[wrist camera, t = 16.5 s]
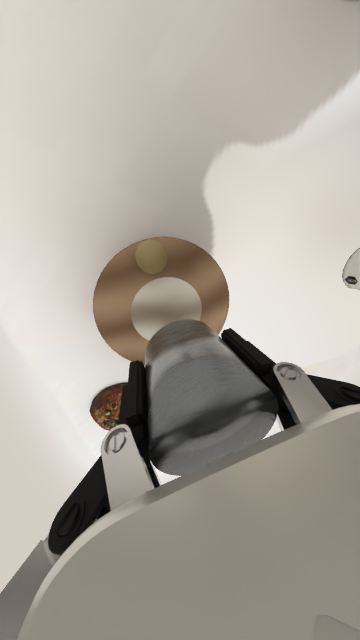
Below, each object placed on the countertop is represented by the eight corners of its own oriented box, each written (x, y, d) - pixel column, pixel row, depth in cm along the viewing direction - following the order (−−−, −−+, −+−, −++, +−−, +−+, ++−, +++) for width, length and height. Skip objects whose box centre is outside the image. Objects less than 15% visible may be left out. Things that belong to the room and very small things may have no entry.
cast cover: (170, 305, 10) (204, 365, 5) (232, 336, 12) (301, 400, 7) (130, 372, 11) (123, 476, 6) (193, 389, 14) (226, 474, 8)
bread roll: (89, 382, 25) (84, 411, 21) (155, 374, 30) (161, 397, 25) (91, 423, 29) (87, 453, 25) (147, 411, 34) (152, 435, 30)
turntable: (67, 263, 16) (21, 271, 10) (212, 221, 18) (250, 204, 12) (131, 372, 24) (127, 415, 18) (227, 336, 25) (255, 363, 19)
